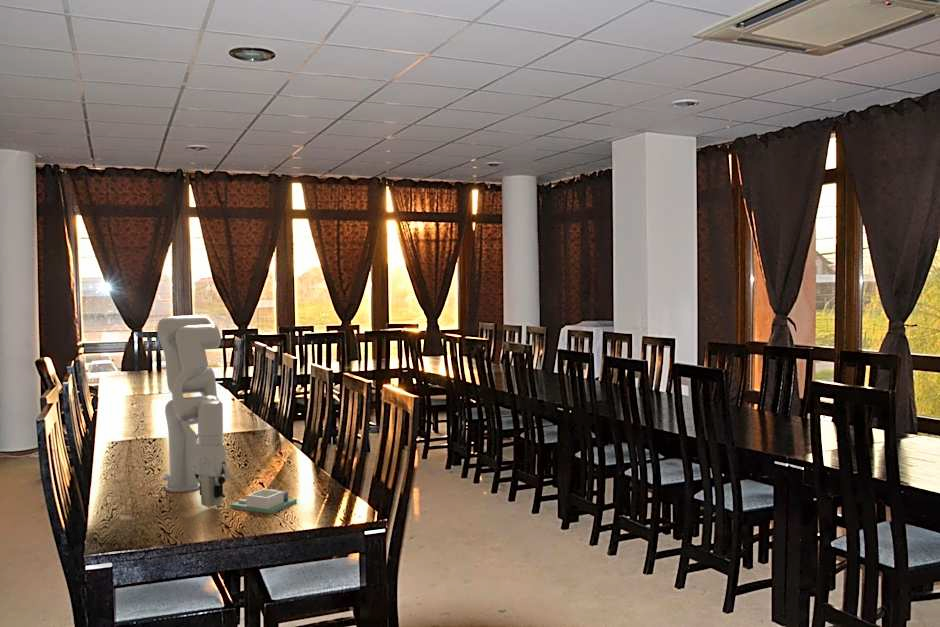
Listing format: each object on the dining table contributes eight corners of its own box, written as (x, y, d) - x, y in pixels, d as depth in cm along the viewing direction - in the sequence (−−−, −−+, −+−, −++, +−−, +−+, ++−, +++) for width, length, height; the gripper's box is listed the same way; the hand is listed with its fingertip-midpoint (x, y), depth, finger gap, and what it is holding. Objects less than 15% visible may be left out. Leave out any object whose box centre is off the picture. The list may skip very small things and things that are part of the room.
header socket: (246, 506, 258) (246, 495, 257) (264, 498, 266) (263, 488, 265) (267, 509, 254) (267, 498, 254) (284, 501, 262) (284, 490, 262)
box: (214, 501, 262) (214, 467, 261) (222, 503, 259) (222, 469, 258) (200, 504, 257) (199, 470, 257) (208, 507, 255) (207, 473, 254)
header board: (230, 508, 260) (230, 496, 259) (256, 497, 271) (256, 486, 271) (272, 513, 253) (271, 502, 253) (296, 502, 265) (296, 491, 265)
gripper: (180, 439, 256) (181, 495, 258) (224, 445, 250) (224, 502, 251) (197, 434, 263) (198, 488, 265) (240, 439, 257) (240, 495, 258)
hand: (211, 494), depth 258 cm, fingers closed on box, 5 cm apart
